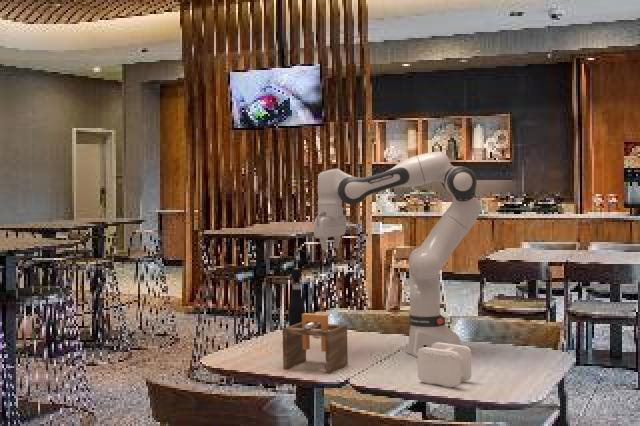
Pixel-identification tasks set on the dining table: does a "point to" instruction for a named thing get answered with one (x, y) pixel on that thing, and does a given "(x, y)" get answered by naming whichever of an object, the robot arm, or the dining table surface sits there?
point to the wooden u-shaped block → (324, 326)
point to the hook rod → (311, 325)
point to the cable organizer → (444, 364)
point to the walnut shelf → (333, 339)
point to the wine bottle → (296, 299)
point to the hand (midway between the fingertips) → (330, 248)
